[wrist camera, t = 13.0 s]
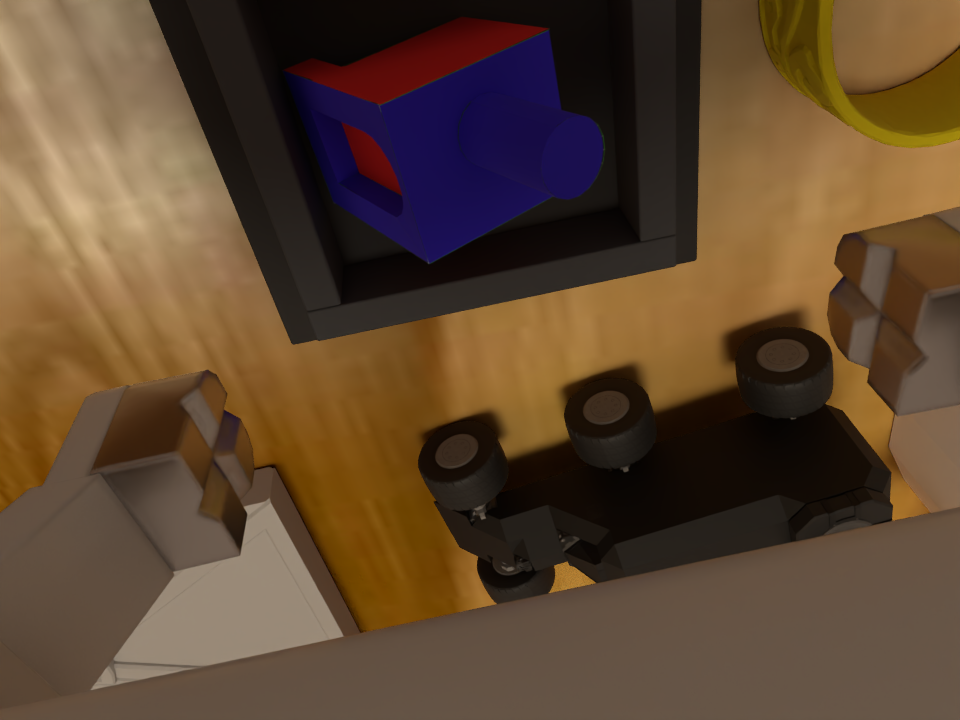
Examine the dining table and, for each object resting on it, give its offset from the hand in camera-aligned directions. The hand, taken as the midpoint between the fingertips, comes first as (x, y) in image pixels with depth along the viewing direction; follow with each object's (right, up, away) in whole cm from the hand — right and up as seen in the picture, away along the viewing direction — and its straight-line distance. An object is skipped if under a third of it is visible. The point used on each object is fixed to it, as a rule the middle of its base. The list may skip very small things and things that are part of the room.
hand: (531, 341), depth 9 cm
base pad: (-1, +7, +10) cm, 12 cm away
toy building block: (-2, +7, +9) cm, 12 cm away
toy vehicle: (+5, -4, +19) cm, 20 cm away
